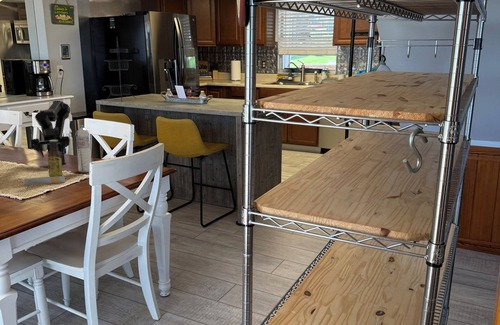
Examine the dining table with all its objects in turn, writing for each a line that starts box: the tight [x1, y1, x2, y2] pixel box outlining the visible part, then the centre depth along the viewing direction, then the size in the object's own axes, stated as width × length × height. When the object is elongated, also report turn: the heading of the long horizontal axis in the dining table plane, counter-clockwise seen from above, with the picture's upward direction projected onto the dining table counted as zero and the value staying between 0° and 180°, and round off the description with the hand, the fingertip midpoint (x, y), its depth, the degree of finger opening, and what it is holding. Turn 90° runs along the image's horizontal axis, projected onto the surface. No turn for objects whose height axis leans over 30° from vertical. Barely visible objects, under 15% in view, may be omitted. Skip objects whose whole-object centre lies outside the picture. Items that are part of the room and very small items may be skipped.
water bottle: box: [75, 124, 92, 173], centre depth 236 cm, size 7×7×25 cm
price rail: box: [23, 175, 66, 186], centre depth 215 cm, size 18×1×3 cm, turn 108°
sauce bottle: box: [47, 140, 63, 177], centre depth 221 cm, size 6×6×20 cm
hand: (52, 155), depth 227 cm, fingers open, 9 cm apart
